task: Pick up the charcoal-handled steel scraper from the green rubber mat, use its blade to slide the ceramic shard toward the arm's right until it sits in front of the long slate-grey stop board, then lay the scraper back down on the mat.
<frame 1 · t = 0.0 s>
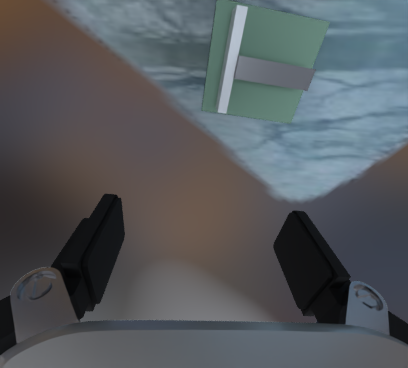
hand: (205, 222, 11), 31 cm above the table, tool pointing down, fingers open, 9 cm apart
scraper: (265, 71, 34), resting on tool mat
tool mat: (259, 70, 35), on the table
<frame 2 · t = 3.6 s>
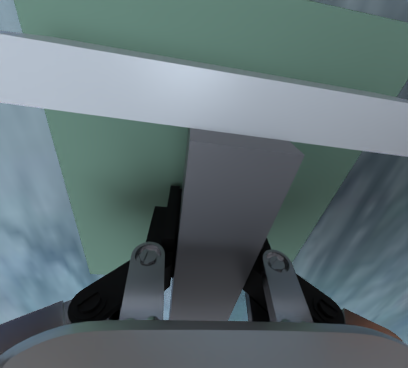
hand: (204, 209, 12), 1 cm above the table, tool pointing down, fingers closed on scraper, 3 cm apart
scraper: (204, 205, 12), resting on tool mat, touching gripper
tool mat: (206, 188, 12), on the table
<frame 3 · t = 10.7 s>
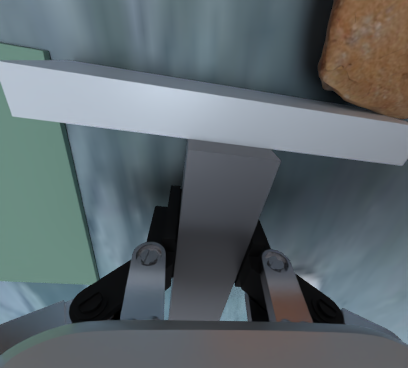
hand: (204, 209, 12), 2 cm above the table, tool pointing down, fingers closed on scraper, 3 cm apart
scraper: (202, 206, 13), on the table, touching ceramic shard, gripper
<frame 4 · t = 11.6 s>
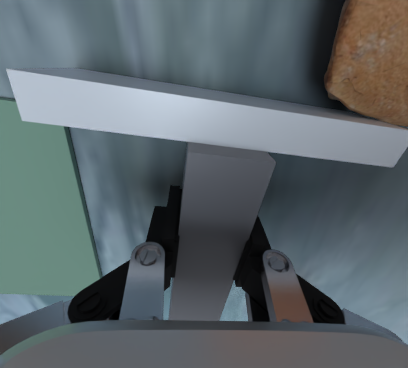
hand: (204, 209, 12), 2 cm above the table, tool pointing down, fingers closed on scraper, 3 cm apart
scraper: (201, 208, 14), on the table, touching gripper
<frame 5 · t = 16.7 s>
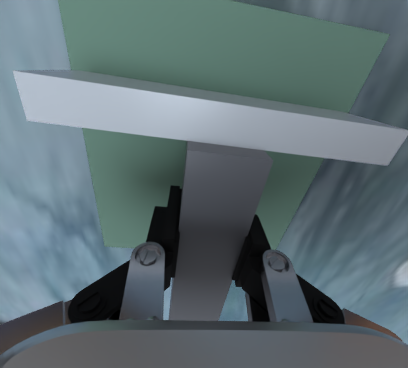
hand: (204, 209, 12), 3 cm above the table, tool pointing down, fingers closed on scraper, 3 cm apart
scraper: (201, 207, 14), point 2 cm above the table, touching gripper
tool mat: (206, 167, 14), on the table
when the fingers open (2 cm above the table, at t = 17.2 s): scraper stays where it is, resting on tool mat.
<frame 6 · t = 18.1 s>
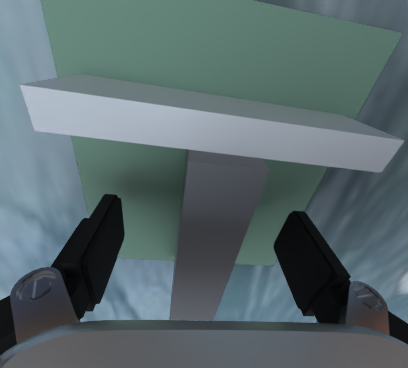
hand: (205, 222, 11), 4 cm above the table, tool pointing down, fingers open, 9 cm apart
scraper: (201, 205, 14), resting on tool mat
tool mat: (205, 175, 13), on the table
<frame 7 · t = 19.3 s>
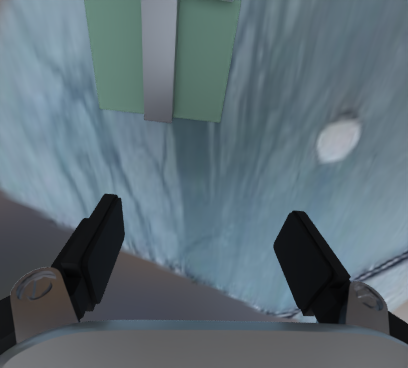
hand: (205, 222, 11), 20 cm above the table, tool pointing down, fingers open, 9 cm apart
scraper: (163, 58, 23), resting on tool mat
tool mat: (164, 33, 22), on the table
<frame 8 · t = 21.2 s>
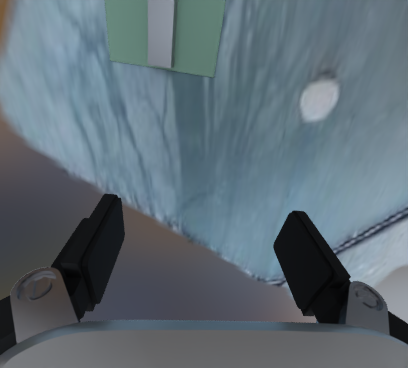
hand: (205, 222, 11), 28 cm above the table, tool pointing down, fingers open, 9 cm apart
scraper: (165, 14, 27), resting on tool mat
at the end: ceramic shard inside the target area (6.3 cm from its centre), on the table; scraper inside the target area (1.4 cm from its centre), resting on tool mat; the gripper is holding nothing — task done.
